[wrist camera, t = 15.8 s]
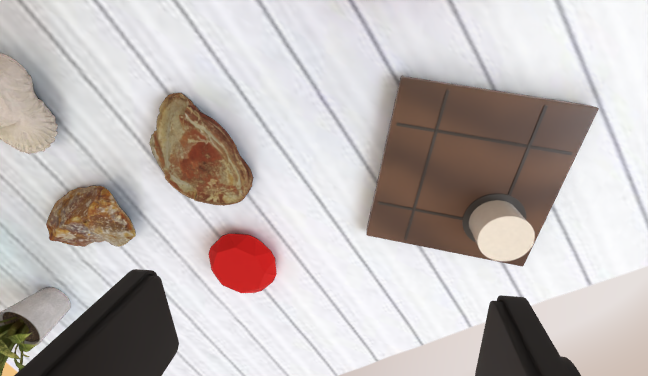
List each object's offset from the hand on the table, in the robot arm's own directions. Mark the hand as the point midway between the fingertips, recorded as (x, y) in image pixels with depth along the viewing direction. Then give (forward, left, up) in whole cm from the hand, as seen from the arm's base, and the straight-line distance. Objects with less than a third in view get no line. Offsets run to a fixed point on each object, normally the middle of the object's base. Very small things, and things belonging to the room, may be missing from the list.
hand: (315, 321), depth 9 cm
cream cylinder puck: (+8, +16, -27) cm, 32 cm away
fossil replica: (+4, -40, -28) cm, 49 cm away
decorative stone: (+19, -33, -28) cm, 48 cm away
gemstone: (+21, -12, -28) cm, 37 cm away
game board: (+4, +12, -28) cm, 31 cm away
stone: (+7, -18, -28) cm, 34 cm away
